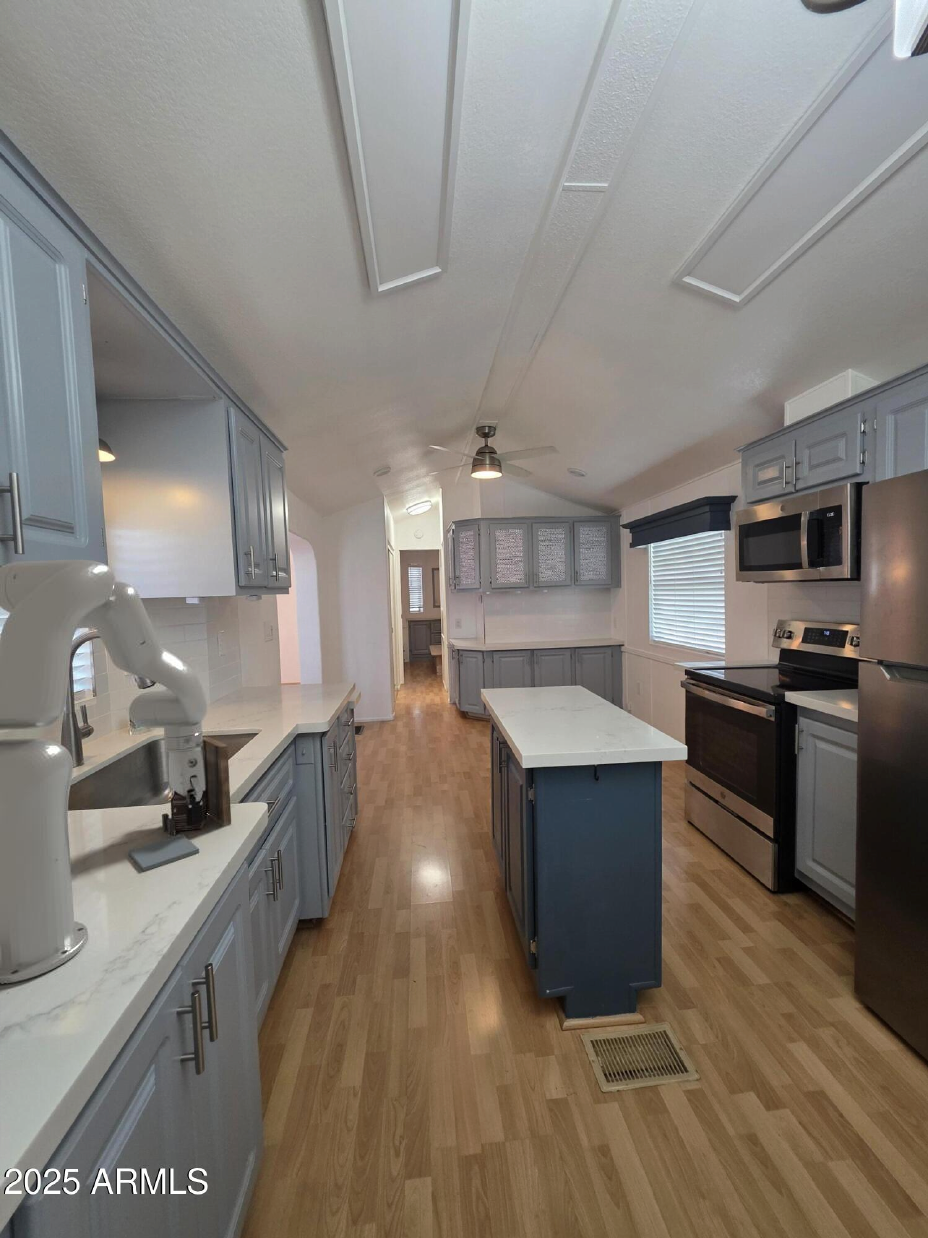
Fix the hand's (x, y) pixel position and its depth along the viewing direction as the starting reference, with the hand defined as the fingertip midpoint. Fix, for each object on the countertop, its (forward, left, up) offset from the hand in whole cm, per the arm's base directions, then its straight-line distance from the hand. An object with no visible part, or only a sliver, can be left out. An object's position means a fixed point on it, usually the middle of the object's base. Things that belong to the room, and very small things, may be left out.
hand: (187, 818), depth 122 cm
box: (+1, 0, -2) cm, 2 cm away
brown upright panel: (+1, 0, -2) cm, 2 cm away
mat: (-8, -10, -2) cm, 13 cm away
